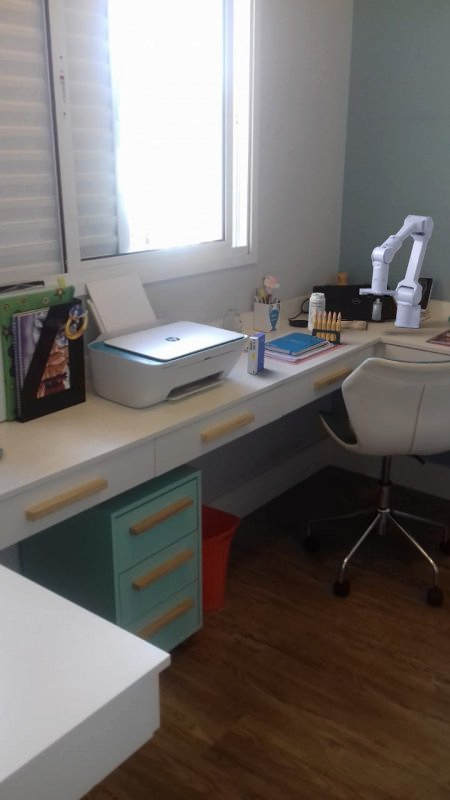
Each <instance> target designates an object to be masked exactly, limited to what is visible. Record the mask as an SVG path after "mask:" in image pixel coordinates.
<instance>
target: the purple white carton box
mask: <svg viewBox="0 0 450 800" xmlns="http://www.w3.org/2000/svg"><path fill="white" fill-rule="evenodd" d="M265 346H266V333H264V332H258V331H257V332H256V333H254V334H252V335H251V336H250V337H248V347H247V348H248V349H247V351H248V352H247V371H246V372H247V373H248V374H251V375H255V374H257V373H258V372H260V371H261V370H262V369H264V367H265V348H266V347H265Z"/></svg>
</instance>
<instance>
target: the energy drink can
mask: <svg viewBox="0 0 450 800" xmlns="http://www.w3.org/2000/svg"><path fill="white" fill-rule="evenodd" d="M308 307H309V308H308V323H307V330H308V332H309V333H311V334H312V330H313V320H314V314H315V311H316V310H317V326H318V319H319V313H320V311H321V312H322V322H323V316H324V312H325V311H326V310H325V309H326V297H325V293H322V292H313V293H311V295H310V297H309V306H308Z"/></svg>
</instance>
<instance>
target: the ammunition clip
mask: <svg viewBox="0 0 450 800" xmlns="http://www.w3.org/2000/svg"><path fill="white" fill-rule="evenodd" d="M336 319H338V320H337V326H336ZM341 320H342V315H341V312H338V315H337V313H336V311H334V312H333V316H332V313H331V311H329V313H328V314H327V310H325V312H324V316H323V322H322V312H321V311H320V313H319V319H318V326H317V310H316V311H315V314H314V320H313V330H312V333H311V337H312V336H316V338H317V337H320V338H324V339H326V340H328V341H329V342H330V343H333V344H332V345H338V344H339V345H340V344H341V331H342V330H341Z"/></svg>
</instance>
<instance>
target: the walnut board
mask: <svg viewBox="0 0 450 800" xmlns="http://www.w3.org/2000/svg"><path fill="white" fill-rule="evenodd" d="M336 326H337V322H336ZM341 329H343V330H355V331H367V321H365V320H353V321H341Z"/></svg>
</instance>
